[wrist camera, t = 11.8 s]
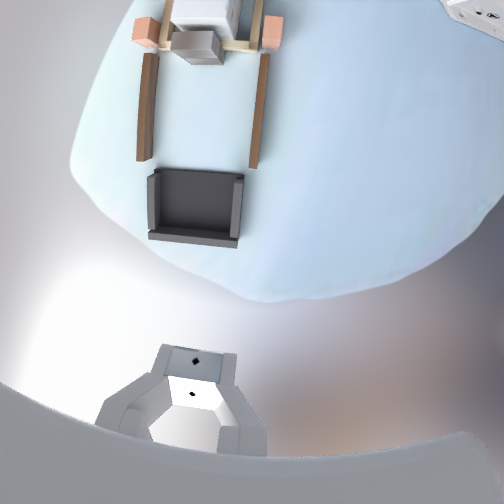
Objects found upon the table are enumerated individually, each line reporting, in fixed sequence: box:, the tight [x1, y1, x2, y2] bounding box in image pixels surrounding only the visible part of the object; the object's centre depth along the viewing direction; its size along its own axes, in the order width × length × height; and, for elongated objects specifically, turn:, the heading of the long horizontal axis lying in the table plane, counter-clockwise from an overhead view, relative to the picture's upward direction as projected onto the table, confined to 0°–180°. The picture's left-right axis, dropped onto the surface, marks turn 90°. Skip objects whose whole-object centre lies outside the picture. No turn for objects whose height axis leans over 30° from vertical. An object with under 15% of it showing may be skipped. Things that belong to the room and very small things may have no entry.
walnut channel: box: [136, 53, 270, 169], centre depth 31 cm, size 15×14×3 cm
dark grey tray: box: [147, 169, 244, 249], centre depth 37 cm, size 12×9×3 cm
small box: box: [170, 0, 242, 40], centre depth 22 cm, size 8×6×10 cm
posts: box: [132, 15, 284, 50], centre depth 26 cm, size 17×3×5 cm, turn 84°
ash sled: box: [158, 0, 264, 65], centre depth 23 cm, size 12×14×9 cm
